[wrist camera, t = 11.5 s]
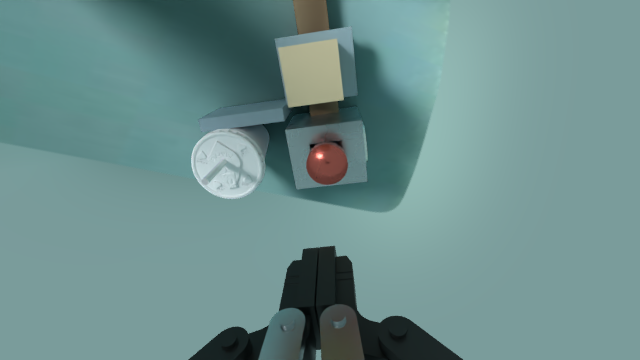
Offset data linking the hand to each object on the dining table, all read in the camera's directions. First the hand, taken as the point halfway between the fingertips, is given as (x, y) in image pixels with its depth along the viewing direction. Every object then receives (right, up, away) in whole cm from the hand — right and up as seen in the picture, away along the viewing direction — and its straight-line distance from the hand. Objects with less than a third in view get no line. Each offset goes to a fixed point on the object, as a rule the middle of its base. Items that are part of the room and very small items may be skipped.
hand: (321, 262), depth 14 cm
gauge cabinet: (+1, +9, +20) cm, 22 cm away
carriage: (-4, +15, +17) cm, 23 cm away
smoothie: (-8, +9, +21) cm, 24 cm away
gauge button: (+1, +8, +18) cm, 20 cm away
